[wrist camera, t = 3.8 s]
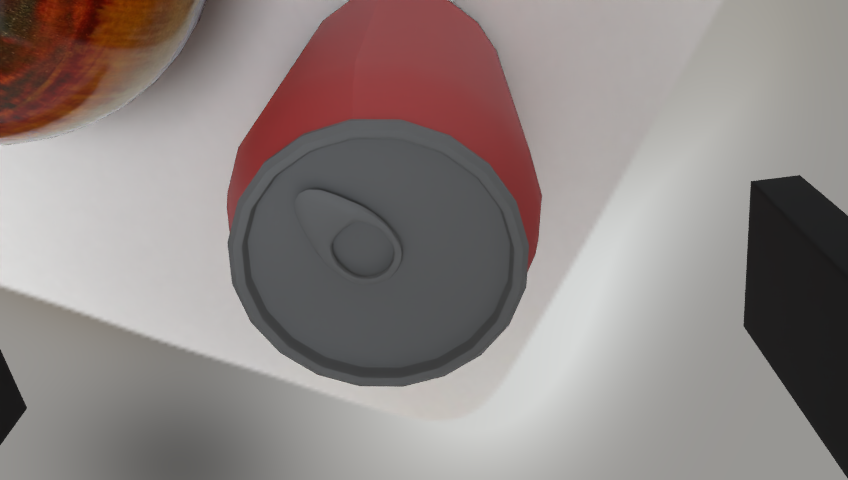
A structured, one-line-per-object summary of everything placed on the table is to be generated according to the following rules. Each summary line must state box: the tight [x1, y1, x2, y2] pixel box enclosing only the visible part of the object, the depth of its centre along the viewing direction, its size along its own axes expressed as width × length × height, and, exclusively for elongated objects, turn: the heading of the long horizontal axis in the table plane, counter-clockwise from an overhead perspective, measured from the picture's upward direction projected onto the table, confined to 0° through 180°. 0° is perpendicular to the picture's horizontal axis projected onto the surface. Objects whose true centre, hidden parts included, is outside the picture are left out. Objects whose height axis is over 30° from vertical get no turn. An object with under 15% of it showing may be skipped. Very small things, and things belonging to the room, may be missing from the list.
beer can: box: [227, 0, 542, 386], centre depth 20 cm, size 7×7×12 cm
